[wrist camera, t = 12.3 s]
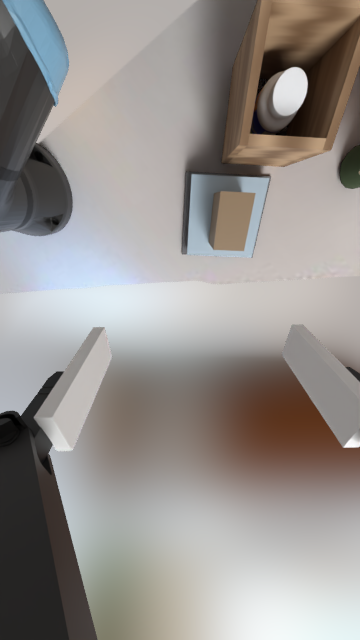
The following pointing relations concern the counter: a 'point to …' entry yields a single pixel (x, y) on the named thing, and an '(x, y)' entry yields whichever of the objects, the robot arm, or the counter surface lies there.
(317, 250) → the counter surface
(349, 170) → the character mug
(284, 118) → the pill bottle
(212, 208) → the lid
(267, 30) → the box
